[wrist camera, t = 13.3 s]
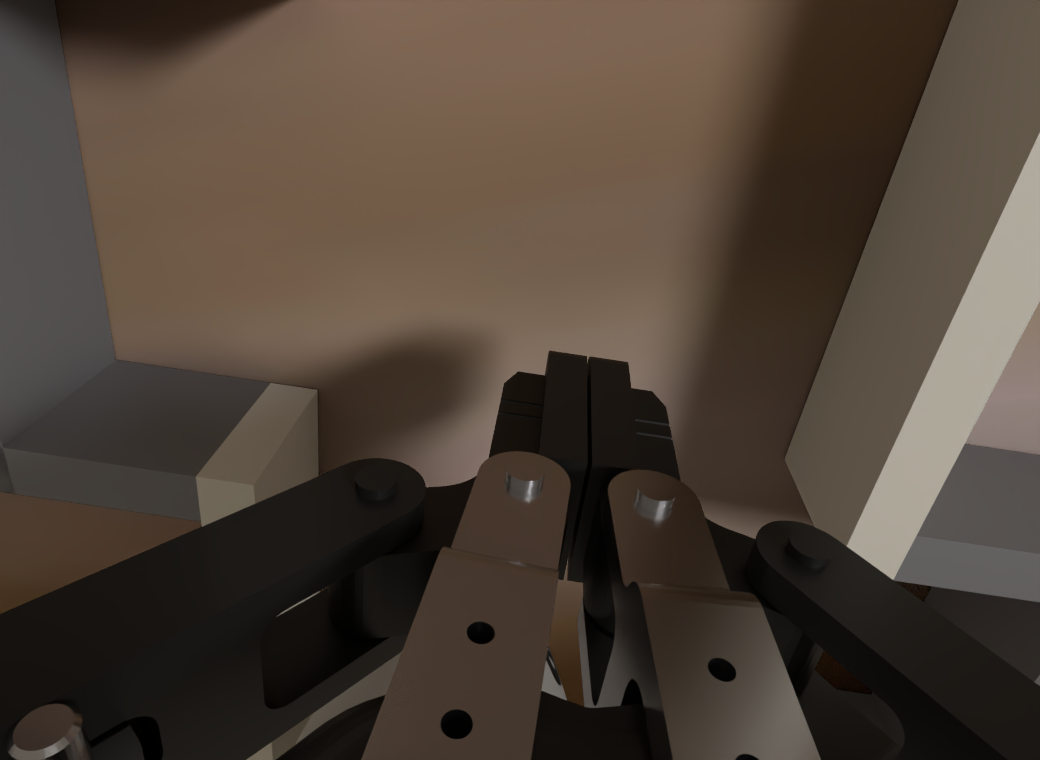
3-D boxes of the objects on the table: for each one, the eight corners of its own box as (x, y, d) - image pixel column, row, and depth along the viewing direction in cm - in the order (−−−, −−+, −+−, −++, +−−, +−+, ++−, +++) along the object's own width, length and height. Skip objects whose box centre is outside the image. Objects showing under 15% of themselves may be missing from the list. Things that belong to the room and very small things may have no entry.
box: (1854, -852, 8) (2809, -1491, 5) (799, 881, 27) (832, 1014, 23) (-240, -1155, 8) (-847, -2008, 5) (157, 785, 27) (94, 903, 23)
